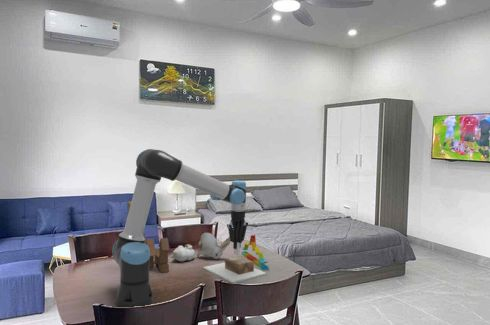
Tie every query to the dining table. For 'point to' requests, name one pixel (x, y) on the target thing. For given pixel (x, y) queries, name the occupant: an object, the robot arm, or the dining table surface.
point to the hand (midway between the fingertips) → (236, 254)
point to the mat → (232, 273)
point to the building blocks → (157, 251)
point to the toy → (211, 246)
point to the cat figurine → (183, 253)
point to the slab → (239, 265)
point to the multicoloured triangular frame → (261, 260)
